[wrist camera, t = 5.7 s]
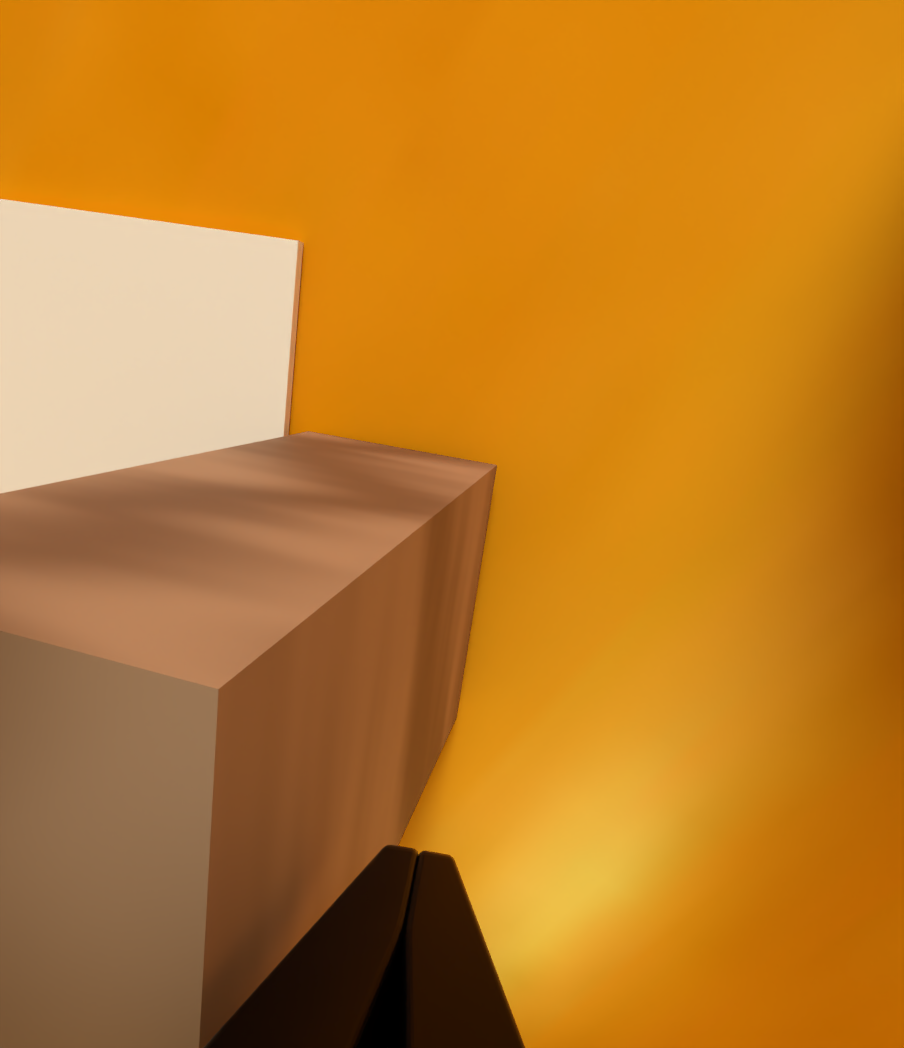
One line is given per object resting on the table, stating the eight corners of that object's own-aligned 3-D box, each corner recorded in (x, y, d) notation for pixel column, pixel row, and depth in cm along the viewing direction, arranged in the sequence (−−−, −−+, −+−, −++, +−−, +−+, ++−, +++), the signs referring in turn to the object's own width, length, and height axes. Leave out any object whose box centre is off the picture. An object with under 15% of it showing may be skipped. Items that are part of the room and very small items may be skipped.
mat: (303, 243, 16) (298, 240, 16) (260, 805, 20) (255, 814, 20) (-240, 167, 17) (-258, 163, 16) (-175, 725, 21) (-188, 733, 20)
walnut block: (497, 465, 16) (218, 689, 5) (456, 717, 18) (184, 1312, 7) (308, 431, 17) (-292, 552, 6) (288, 673, 19) (-202, 1129, 8)
